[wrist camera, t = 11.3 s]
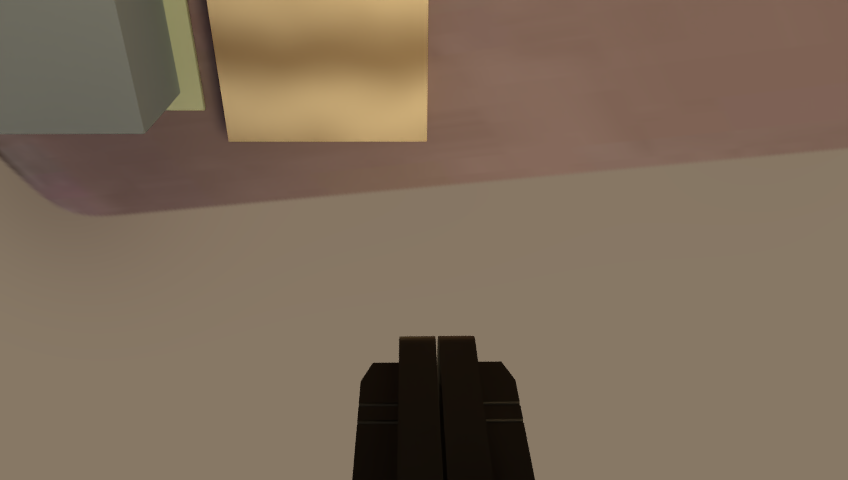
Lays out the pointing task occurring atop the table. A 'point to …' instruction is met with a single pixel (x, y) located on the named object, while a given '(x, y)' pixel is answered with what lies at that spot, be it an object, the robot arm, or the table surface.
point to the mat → (184, 56)
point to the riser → (322, 69)
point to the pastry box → (84, 66)
